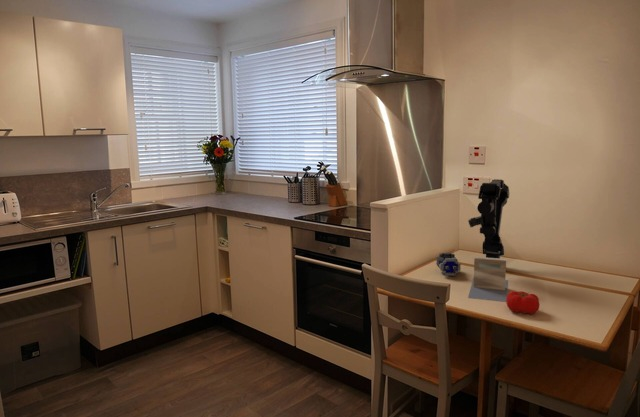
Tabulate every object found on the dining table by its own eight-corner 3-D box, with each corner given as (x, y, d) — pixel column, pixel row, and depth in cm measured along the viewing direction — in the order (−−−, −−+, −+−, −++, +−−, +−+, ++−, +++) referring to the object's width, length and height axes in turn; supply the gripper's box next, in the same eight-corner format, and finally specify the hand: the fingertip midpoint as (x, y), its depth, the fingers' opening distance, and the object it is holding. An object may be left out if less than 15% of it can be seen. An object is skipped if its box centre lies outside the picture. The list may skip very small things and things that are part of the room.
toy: (441, 260, 203) (435, 251, 218) (441, 279, 205) (435, 269, 219) (461, 260, 203) (454, 251, 218) (461, 279, 204) (454, 269, 219)
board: (474, 284, 195) (475, 256, 193) (505, 287, 191) (506, 259, 189) (473, 287, 192) (474, 258, 190) (504, 290, 188) (506, 261, 186)
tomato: (537, 318, 160) (538, 300, 159) (503, 313, 165) (504, 295, 164) (540, 309, 168) (541, 291, 167) (507, 304, 173) (508, 287, 172)
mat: (473, 278, 205) (473, 277, 205) (507, 281, 200) (507, 280, 200) (467, 298, 180) (467, 297, 180) (507, 303, 174) (507, 302, 174)
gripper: (471, 207, 218) (470, 240, 221) (468, 213, 201) (466, 249, 203) (497, 208, 214) (495, 241, 216) (495, 215, 197) (494, 251, 199)
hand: (487, 245), depth 209 cm, fingers closed
